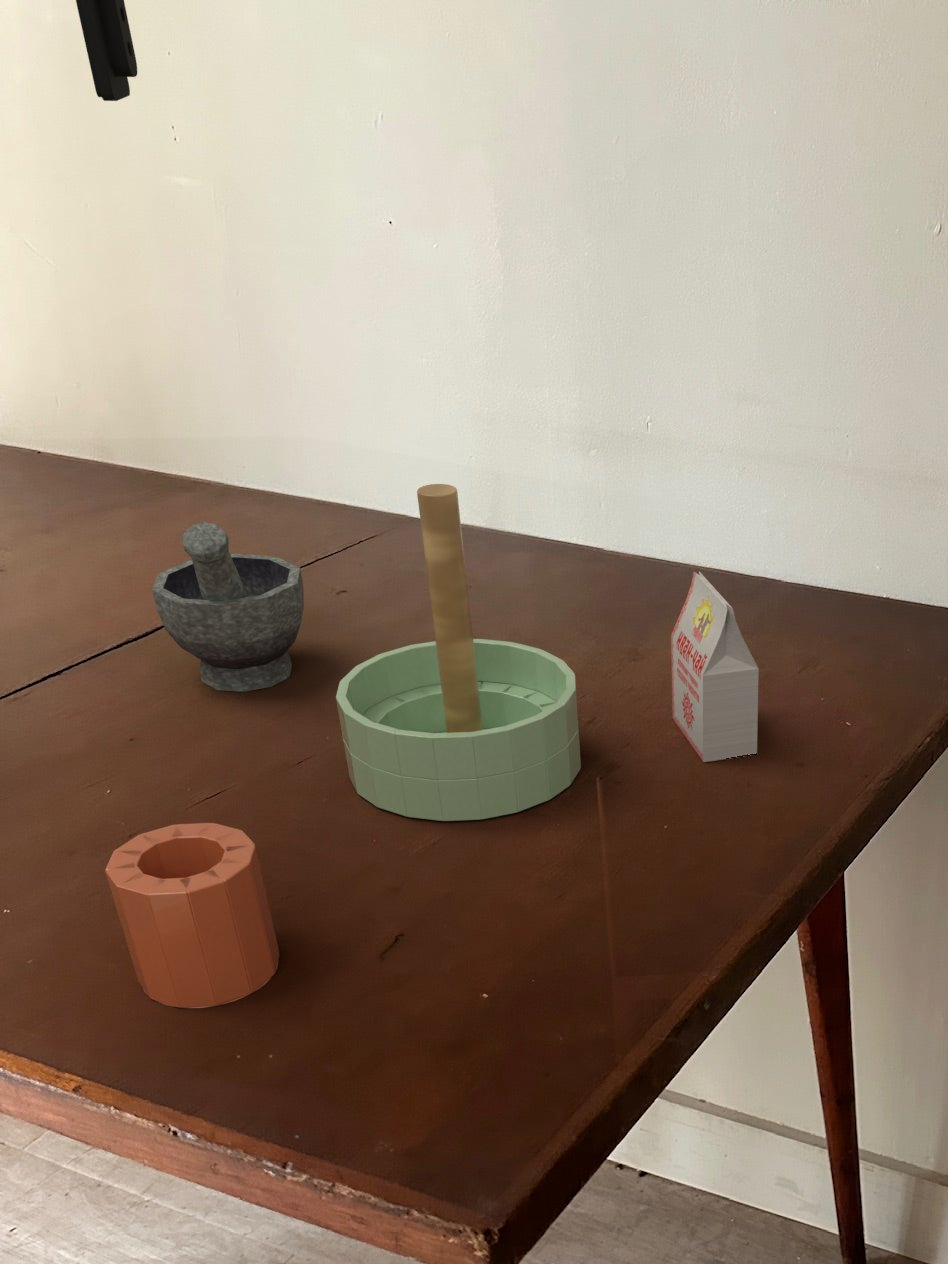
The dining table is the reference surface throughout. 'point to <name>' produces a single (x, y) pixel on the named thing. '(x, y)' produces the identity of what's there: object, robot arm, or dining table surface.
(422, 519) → the stick
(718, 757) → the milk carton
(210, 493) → the dining table surface
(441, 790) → the bowl
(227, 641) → the mortar and pestle
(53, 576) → the dining table surface
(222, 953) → the utensil pot
